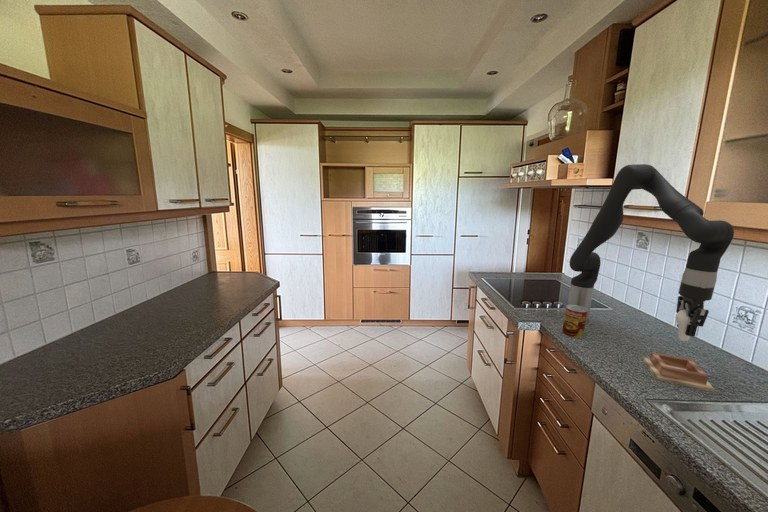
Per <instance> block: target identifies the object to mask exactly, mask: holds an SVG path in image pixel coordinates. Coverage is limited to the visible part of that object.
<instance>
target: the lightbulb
mask: <svg viewBox="0 0 768 512" xmlns="http://www.w3.org/2000/svg"><path fill="white" fill-rule="evenodd" d="M691 315H694V314H691ZM692 319H693V318H692ZM700 321H701V320H700ZM675 322H676V324H678V327H679V328H678V327H677V328H678V339H679V340H680V341H681V342H688V341H690V338H691V336H687V335H686V334H685V332H686V328H687V324H688V317H686V310H681V311H679V312H678V313H676V314H675ZM698 327H699V326H697V328H698Z"/></svg>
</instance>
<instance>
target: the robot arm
mask: <svg viewBox="0 0 768 512" xmlns="http://www.w3.org/2000/svg"><path fill="white" fill-rule="evenodd" d="M633 190H643V191H646V192H647V193H649V194H651V195H652V196H653V197H654V198H655V199H656V201H657V203H658V206H659V208H660V210H661V211H662V212H663V213H664V214H665V215H666V216H667V217H669V218H670V219H671V220H672V221H674V222H675V223H676V224H677V225H678V226H679V228H680V229H681V231H682V233H684V235H685V236H686V237H687V238H688V239H690V241H693V242H695V243H697V244H700V245H699V247H698V248H696V249H694V250H691V251H690V252H689V253H688V255H687V256H688V257H687V261H686V264H685V268H684V271H683V273H682V276H681V280H680V284H679V285H680V286H679V289H678V294H679V296H678V297H677V303H676V310H675V313H676V314H677V313H678V312H679V311H681V310H686V317H688V324H687V328H686V332H685V334H686V335H687V336H690V337H693V338H694V337H695V336H696V333H697V330H698V327H702V328H703V327H704V324H705V322H706V319H707V318H708V315H709V313H710V311H709V309H704V303H705V302H706V301H711V300H712V298H713V295H714V291H715V286H716V283H717V279H718V270H719V267H720V264H721V259H722V257H723V256H724V254H725V253H726V251H727V249H728V248H729V246H730V245H731V243H732V241H733V239H734V234H735V230H734V227H733V225H732V224H731V223H730V222H729V221H726V220H720V219H719V220H714V219H713V220H709V219H708V218H707V219H706V218H705V216H704V213H705V212H704V209H702V208H701V207H700V206H699V205H697V204H696V203H695V202H694V201H692V200H691V199H689V198H687V196H684V195H683V194H682V193H681V192H680V191H678V190H677V189H676V188H675V187H674V186H673V185H672V184H671V183H670V182H669V181H668V180H667V179H666V178H665V177H664V176H663V175H662V174H661V173H660V171H659V170H658V169H657V168H655V167H654V166H652V165H651V164H647V163H646V164H645V163H644V164H643V163H642V164H641V163H640V164H627V165H625V166H623V167H622V168H621V169H619V171H618V172H617V174H616V176H615V178H614V181H613V182H612V185H611V187H610V190H609V192H608V194H607V196H606V198H605V200H604V202H603V203H602V206H601V208H600V209H599V211H598V213H597V214H596V216H595V217H594V220H593V222H592V224H591V225H590V228H589V229H588V231H587V232H586V234H585V236H584V237H583V239H582V240H581V242H580V244H579V245H578V246H577V247H576V249H575V250H574V252H572V255H571V256H570V259H569V267H570V270H572V271H574V272H579V273H578V275H575V276H573V277H571V280H570V284H569V285H570V286H569V293H568V300H567V305H578V306H582V307H584V308H586V309H587V310H588V311H587V317H586V323H588V322H589V317H590V312H591V305H592V299H593V295H594V289H595V288H594V287H595V285H596V283H597V280H598V277H599V272H600V270H601V269H600V268H601V261H602V260H601V257H600V255H599V254H598V253H597V252H594V251H595V250H596V249H597V248H599V247H600V246H601V245H604V243H606V242H607V241H609V240H610V239H611V238H612V237H613V236H614V235H615V234H616V233H617V231H618V230H619V228H620V227H621V225H622V223H623V221H624V204H625V201H626V199H627V198H628V196H629V195H630V193H631V192H632V191H633ZM691 314H694V315H691ZM692 318H693V319H692ZM700 320H701V321H700ZM676 324H677V323H676ZM697 326H698V327H697ZM676 327H677V328H678V329H679V327H678V324H677V325H676Z"/></svg>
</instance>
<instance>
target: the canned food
mask: <svg viewBox="0 0 768 512" xmlns="http://www.w3.org/2000/svg"><path fill="white" fill-rule="evenodd" d="M587 311H588V310H587V309H586V308H584V307H582V306H578V305H568V304H566V305H565V311H564V318H563V322H562V323H563V324H562V331H561V332H562V334H563V335H565V336H567V337H569V336H570V337H569V338H573V337H575V339H582V338H583V337H584V333H585V328H586V324H587V322H586V317H587ZM581 337H582V338H581Z"/></svg>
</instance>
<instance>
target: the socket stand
mask: <svg viewBox="0 0 768 512" xmlns="http://www.w3.org/2000/svg"><path fill="white" fill-rule="evenodd" d="M649 356H650V357H647V356H642V360H643V362H644V363H645V365H646V366H647V367H648V369H649V371H650V372H651V373H652V375H653V376H654V378H655V380H656V381H659V382H660V381H661V382H665V383H670V384H673V385H674V384H675V385H679V386H683V387H689V388H693V389H698V390H702V391H703V390H704V391H708V392H713V393H715V391H716V389H715V387H713V385H712V384H711V383H710V382H709V376H708V375H707V374H706V372H705V371H703V370H702V368H701V367H699V365H698V364H696V363H695V362H694V360H693V359H691V358H686V357H680V356H674V355H669V354H663V353H658V352H654V351H652V352H650V355H649Z"/></svg>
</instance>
